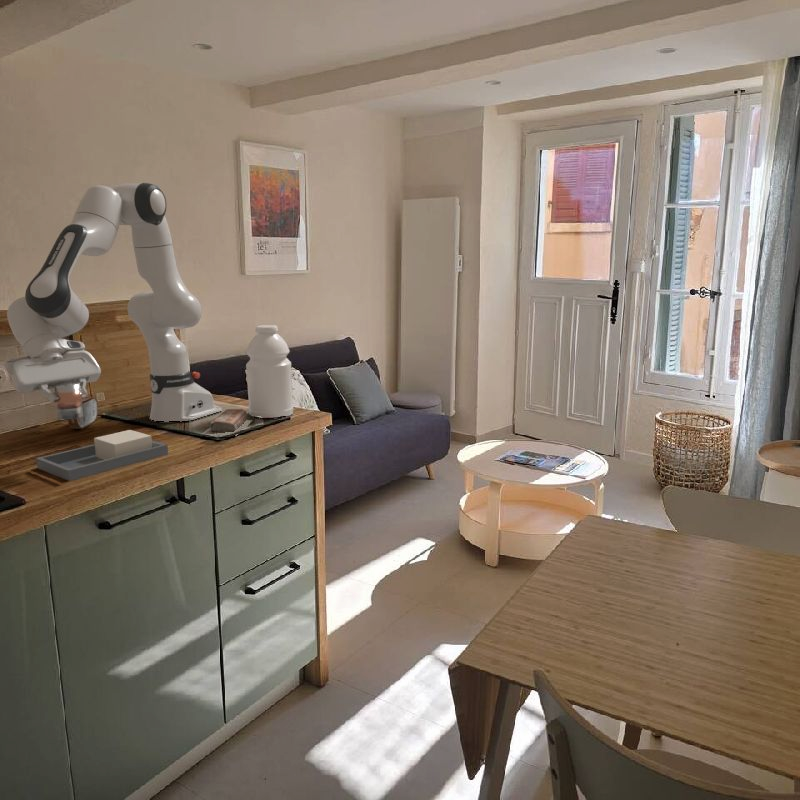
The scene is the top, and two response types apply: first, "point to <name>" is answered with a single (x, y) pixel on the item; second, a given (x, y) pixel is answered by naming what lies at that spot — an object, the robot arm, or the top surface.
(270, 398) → the bottle
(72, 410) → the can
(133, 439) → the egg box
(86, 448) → the tray
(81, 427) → the brown grey rounded block
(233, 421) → the packaged product
